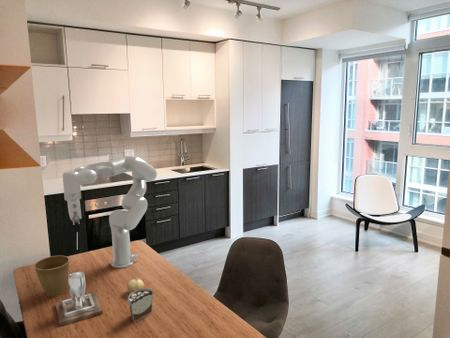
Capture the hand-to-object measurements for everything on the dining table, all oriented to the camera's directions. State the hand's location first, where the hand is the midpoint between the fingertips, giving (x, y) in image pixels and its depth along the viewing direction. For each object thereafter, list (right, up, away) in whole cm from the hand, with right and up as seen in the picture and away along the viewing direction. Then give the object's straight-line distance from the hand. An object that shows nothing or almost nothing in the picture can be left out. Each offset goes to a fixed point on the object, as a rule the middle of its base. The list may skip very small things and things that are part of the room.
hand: (75, 229), depth 172 cm
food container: (+38, -33, -24) cm, 55 cm away
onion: (+32, -30, -6) cm, 44 cm away
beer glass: (+10, -31, -20) cm, 38 cm away
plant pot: (-7, -30, -6) cm, 32 cm away
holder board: (+10, -32, -20) cm, 39 cm away
